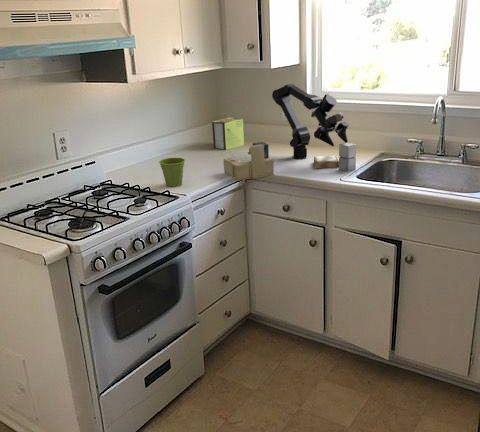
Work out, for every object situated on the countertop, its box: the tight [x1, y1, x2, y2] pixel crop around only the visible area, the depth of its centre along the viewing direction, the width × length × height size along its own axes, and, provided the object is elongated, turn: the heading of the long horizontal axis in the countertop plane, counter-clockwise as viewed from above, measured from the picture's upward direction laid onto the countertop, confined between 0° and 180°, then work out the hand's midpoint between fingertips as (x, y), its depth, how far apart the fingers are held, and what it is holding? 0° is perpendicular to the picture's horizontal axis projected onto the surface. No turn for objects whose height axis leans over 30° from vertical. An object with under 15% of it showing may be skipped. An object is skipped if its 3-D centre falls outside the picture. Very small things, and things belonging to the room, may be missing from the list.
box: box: [252, 141, 270, 159], centre depth 270 cm, size 8×6×11 cm
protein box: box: [211, 117, 245, 151], centre depth 310 cm, size 10×15×16 cm
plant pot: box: [158, 157, 186, 188], centre depth 242 cm, size 12×12×11 cm
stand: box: [313, 155, 339, 169], centre depth 264 cm, size 11×11×3 cm
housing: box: [338, 142, 357, 172], centre depth 253 cm, size 6×5×12 cm
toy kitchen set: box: [223, 145, 275, 182], centre depth 253 cm, size 18×17×15 cm
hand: (340, 144), depth 255 cm, fingers open, 9 cm apart
